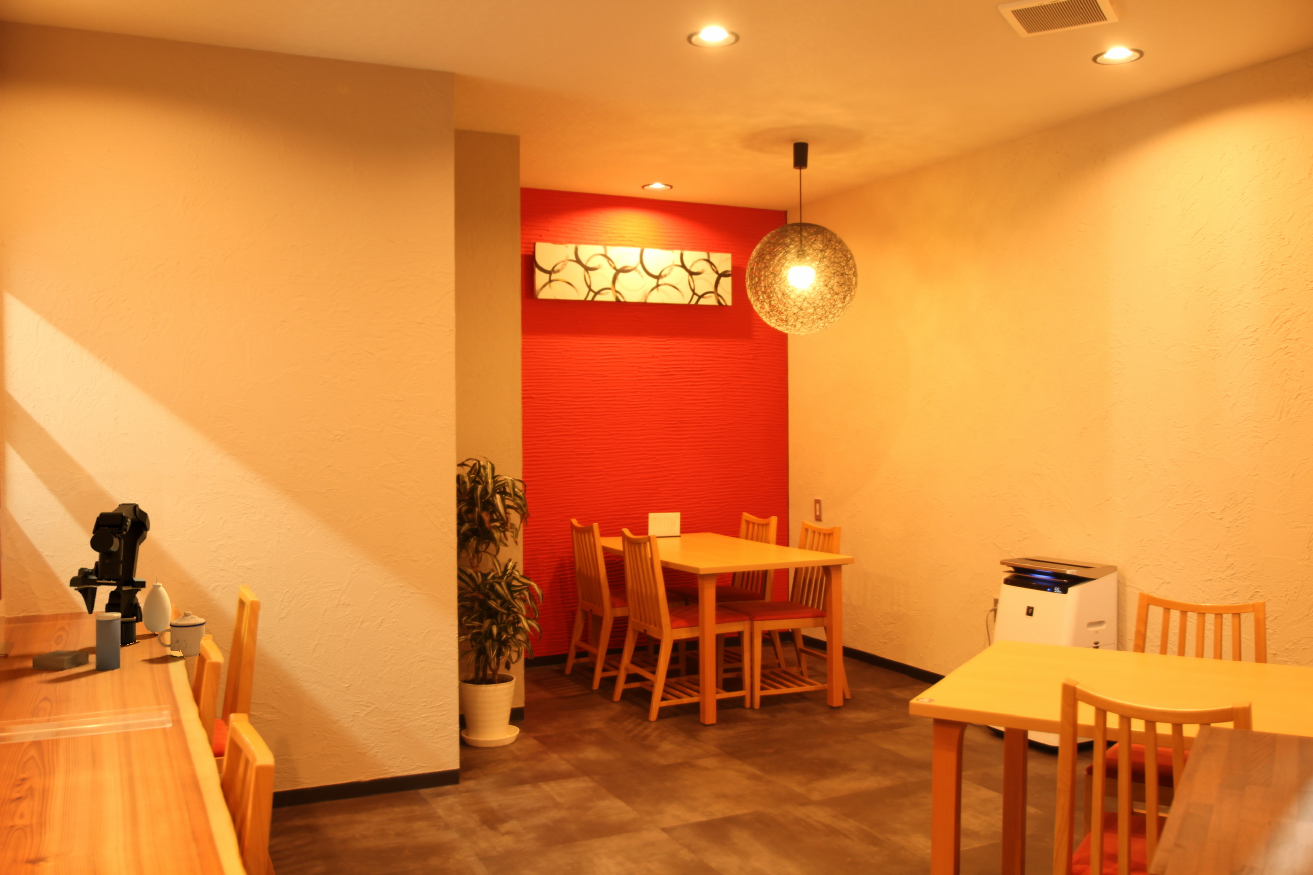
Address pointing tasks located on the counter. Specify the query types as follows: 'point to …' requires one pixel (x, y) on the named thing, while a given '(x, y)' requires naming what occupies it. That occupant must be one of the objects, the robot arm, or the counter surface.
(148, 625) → the sauce bottle
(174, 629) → the teacup with lid
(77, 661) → the stand
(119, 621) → the canister
